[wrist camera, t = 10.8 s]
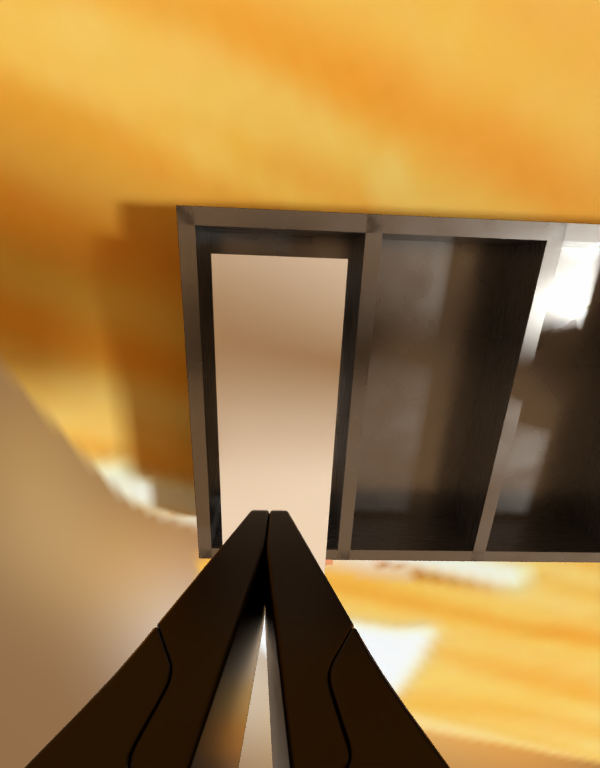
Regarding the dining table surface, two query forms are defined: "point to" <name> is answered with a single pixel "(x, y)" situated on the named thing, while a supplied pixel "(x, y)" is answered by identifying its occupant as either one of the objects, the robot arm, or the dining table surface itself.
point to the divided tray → (431, 381)
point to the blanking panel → (278, 386)
